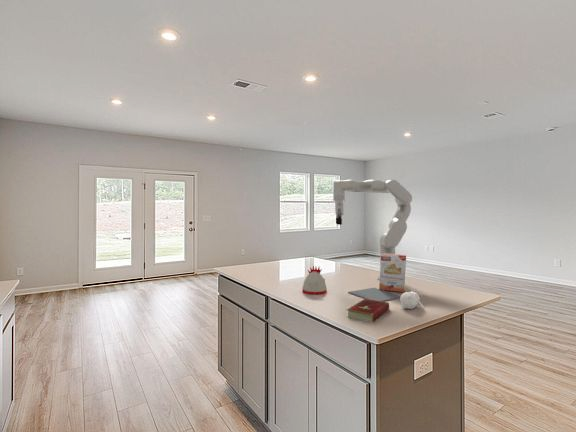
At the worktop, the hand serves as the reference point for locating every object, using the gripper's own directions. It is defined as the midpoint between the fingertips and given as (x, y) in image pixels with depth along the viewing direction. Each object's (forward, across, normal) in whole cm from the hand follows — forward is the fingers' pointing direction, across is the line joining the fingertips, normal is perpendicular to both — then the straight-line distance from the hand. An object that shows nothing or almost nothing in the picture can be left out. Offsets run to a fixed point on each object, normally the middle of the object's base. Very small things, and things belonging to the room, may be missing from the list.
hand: (338, 224), depth 218 cm
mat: (+37, -40, -17) cm, 57 cm away
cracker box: (+37, -30, -28) cm, 55 cm away
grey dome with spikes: (+38, -35, +16) cm, 54 cm away
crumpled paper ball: (+38, -61, -31) cm, 78 cm away
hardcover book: (+38, -71, -8) cm, 81 cm away
